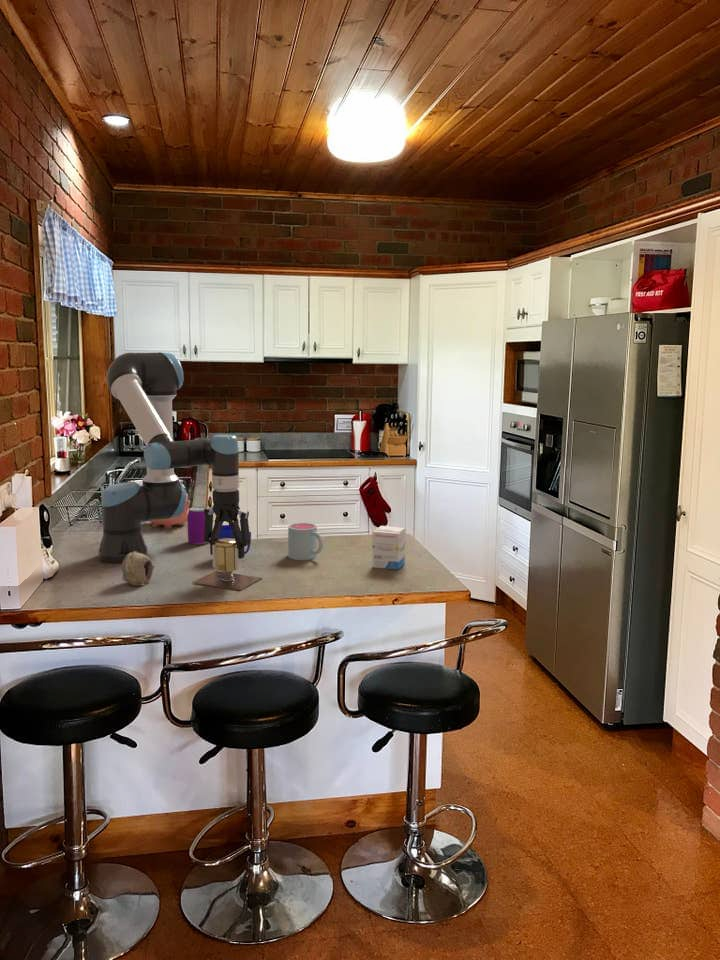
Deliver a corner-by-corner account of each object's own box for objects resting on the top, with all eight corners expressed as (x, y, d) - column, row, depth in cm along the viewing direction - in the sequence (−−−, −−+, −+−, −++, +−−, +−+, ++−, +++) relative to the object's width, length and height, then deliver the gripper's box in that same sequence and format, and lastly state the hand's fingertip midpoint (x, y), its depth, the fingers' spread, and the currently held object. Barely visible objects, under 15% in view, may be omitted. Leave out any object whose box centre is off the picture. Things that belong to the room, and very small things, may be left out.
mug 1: (246, 563, 241) (246, 532, 239) (210, 560, 243) (209, 530, 242) (255, 556, 249) (255, 526, 247) (220, 553, 251) (219, 524, 250)
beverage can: (209, 539, 270) (208, 505, 268) (212, 544, 263) (211, 510, 260) (186, 540, 267) (185, 506, 265) (189, 546, 260) (188, 511, 258)
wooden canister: (208, 570, 219) (208, 543, 218) (225, 562, 227) (225, 536, 226) (229, 573, 217) (228, 546, 215) (245, 565, 225) (245, 538, 223)
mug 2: (282, 556, 250) (282, 526, 248) (303, 550, 256) (303, 521, 254) (311, 564, 240) (311, 533, 239) (332, 558, 247) (332, 528, 245)
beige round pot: (128, 595, 217) (116, 566, 212) (124, 582, 224) (113, 553, 220) (160, 582, 219) (149, 553, 215) (156, 569, 227) (144, 541, 222)
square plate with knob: (192, 583, 220) (191, 562, 219) (215, 572, 231) (215, 551, 230) (240, 590, 214) (240, 568, 213) (261, 579, 225) (261, 557, 224)
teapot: (191, 529, 283) (190, 493, 281) (144, 532, 278) (142, 495, 276) (189, 519, 298) (187, 485, 296) (143, 522, 294) (142, 487, 291)
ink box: (405, 563, 244) (406, 527, 241) (398, 570, 236) (398, 533, 234) (379, 560, 246) (380, 524, 244) (371, 567, 238) (372, 530, 236)
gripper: (188, 488, 218) (191, 566, 222) (249, 494, 211) (250, 574, 215) (203, 484, 225) (206, 560, 229) (262, 489, 218) (263, 567, 222)
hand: (227, 567), depth 222 cm, fingers closed on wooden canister, 7 cm apart
